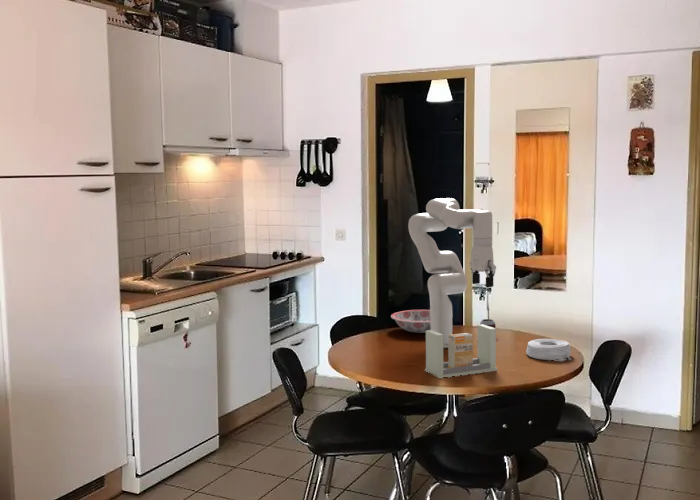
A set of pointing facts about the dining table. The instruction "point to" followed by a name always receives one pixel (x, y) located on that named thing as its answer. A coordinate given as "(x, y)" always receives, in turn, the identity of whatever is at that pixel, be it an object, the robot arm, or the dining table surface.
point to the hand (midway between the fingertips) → (482, 285)
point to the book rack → (480, 365)
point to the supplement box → (460, 350)
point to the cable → (549, 349)
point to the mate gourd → (488, 320)
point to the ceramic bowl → (413, 320)
